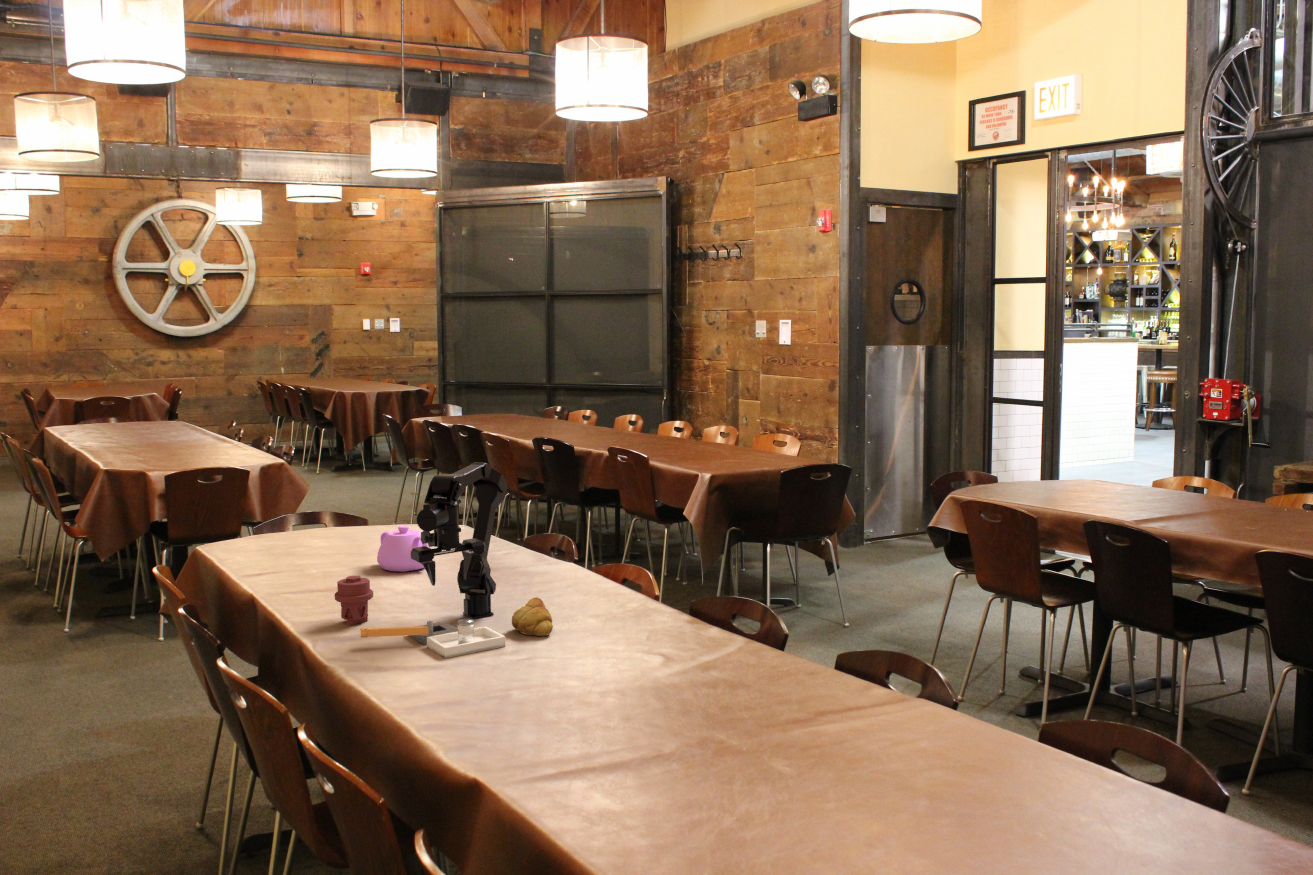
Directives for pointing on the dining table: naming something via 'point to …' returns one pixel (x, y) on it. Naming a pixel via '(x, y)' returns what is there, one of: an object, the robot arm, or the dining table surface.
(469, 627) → the salt shaker
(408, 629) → the bar
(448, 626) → the hitch block
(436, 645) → the tray
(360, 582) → the mechanical component
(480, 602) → the robot arm
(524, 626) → the bread roll
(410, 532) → the teapot
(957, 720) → the dining table surface
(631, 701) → the dining table surface
